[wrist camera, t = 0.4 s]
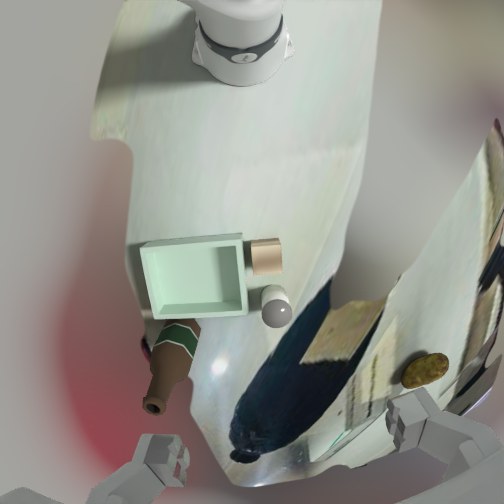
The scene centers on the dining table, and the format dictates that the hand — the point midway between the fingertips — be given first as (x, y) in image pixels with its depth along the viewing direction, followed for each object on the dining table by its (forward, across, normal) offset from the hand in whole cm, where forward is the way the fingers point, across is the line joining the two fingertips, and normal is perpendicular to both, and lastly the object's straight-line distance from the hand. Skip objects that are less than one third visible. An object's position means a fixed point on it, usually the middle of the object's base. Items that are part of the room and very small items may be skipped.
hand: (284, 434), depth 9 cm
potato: (+46, -34, +43) cm, 71 cm away
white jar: (+45, 0, +14) cm, 47 cm away
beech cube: (+45, 0, +5) cm, 46 cm away
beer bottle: (+45, +19, +18) cm, 53 cm away
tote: (+45, +13, +7) cm, 47 cm away
